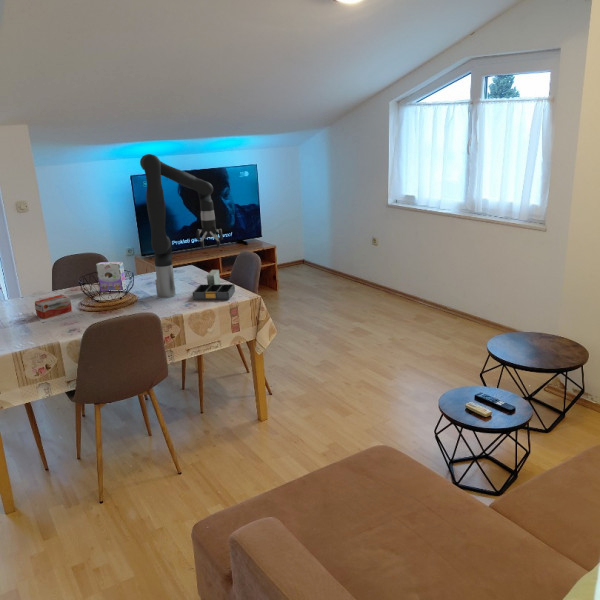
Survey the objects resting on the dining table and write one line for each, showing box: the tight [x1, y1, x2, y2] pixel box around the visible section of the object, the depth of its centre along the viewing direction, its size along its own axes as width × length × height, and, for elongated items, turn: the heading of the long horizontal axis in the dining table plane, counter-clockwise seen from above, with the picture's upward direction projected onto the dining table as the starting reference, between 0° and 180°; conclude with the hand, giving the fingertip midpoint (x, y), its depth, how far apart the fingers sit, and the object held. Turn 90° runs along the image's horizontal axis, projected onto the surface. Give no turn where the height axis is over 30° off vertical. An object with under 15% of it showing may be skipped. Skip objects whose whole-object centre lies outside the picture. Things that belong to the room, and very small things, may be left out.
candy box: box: [95, 261, 127, 292], centre depth 328 cm, size 14×6×16 cm, turn 84°
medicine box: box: [34, 293, 73, 320], centre depth 293 cm, size 15×8×8 cm, turn 139°
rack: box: [192, 283, 236, 301], centre depth 312 cm, size 19×16×4 cm
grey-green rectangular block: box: [206, 269, 221, 285], centre depth 327 cm, size 4×12×9 cm, turn 174°
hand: (210, 247), depth 321 cm, fingers open, 8 cm apart
